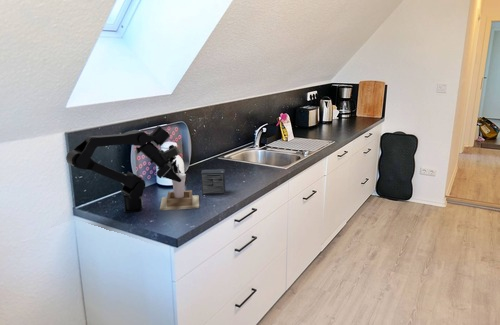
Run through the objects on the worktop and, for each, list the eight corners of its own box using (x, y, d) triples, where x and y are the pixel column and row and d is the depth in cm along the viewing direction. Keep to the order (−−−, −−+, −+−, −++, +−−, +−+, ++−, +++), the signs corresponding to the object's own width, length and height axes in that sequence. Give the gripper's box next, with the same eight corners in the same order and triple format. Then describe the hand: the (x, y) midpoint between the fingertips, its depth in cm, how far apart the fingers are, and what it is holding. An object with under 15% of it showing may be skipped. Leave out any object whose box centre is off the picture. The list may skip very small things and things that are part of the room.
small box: (225, 190, 192) (224, 168, 189) (225, 194, 185) (224, 172, 183) (203, 190, 191) (202, 169, 189) (201, 195, 185) (200, 173, 182)
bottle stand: (159, 210, 167) (159, 201, 166) (162, 198, 181) (161, 190, 180) (199, 208, 169) (198, 199, 168) (198, 196, 183) (198, 188, 182)
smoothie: (188, 194, 177) (186, 163, 174) (185, 199, 170) (183, 166, 167) (173, 194, 177) (172, 163, 174) (170, 198, 171) (168, 166, 168)
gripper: (163, 145, 159) (192, 171, 162) (170, 136, 177) (196, 160, 180) (144, 164, 160) (173, 191, 164) (152, 154, 178) (179, 177, 182)
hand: (181, 179), depth 172 cm, fingers closed on smoothie, 6 cm apart
